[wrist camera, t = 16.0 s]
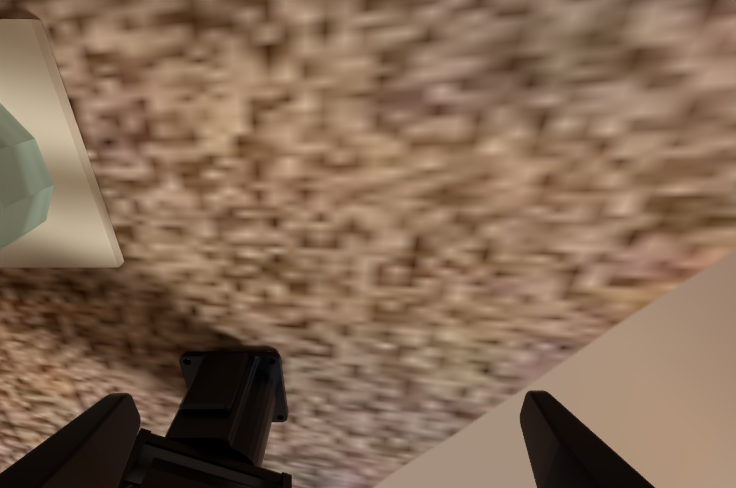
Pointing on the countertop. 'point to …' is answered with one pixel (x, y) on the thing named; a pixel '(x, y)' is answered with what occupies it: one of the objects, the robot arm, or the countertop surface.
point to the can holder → (45, 164)
